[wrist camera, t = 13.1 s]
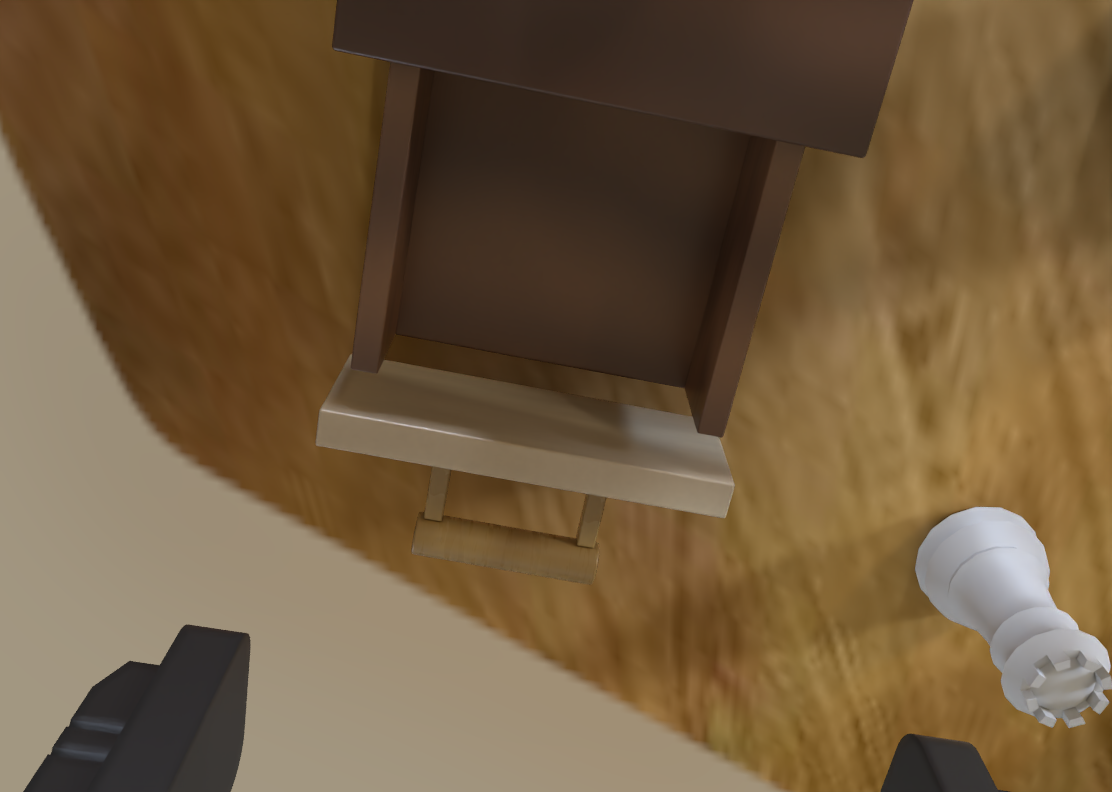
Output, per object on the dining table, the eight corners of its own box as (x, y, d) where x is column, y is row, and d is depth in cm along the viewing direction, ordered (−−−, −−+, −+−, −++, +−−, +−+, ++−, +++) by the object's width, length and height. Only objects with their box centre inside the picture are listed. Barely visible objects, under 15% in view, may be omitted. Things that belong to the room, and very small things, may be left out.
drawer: (676, 555, 38) (691, 634, 33) (331, 494, 37) (299, 567, 32) (818, 45, 31) (861, 57, 26) (401, -43, 30) (373, -45, 26)
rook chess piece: (973, 625, 40) (1068, 777, 32) (885, 566, 39) (961, 708, 31) (1060, 541, 38) (1179, 679, 31) (970, 477, 37) (1071, 604, 30)
